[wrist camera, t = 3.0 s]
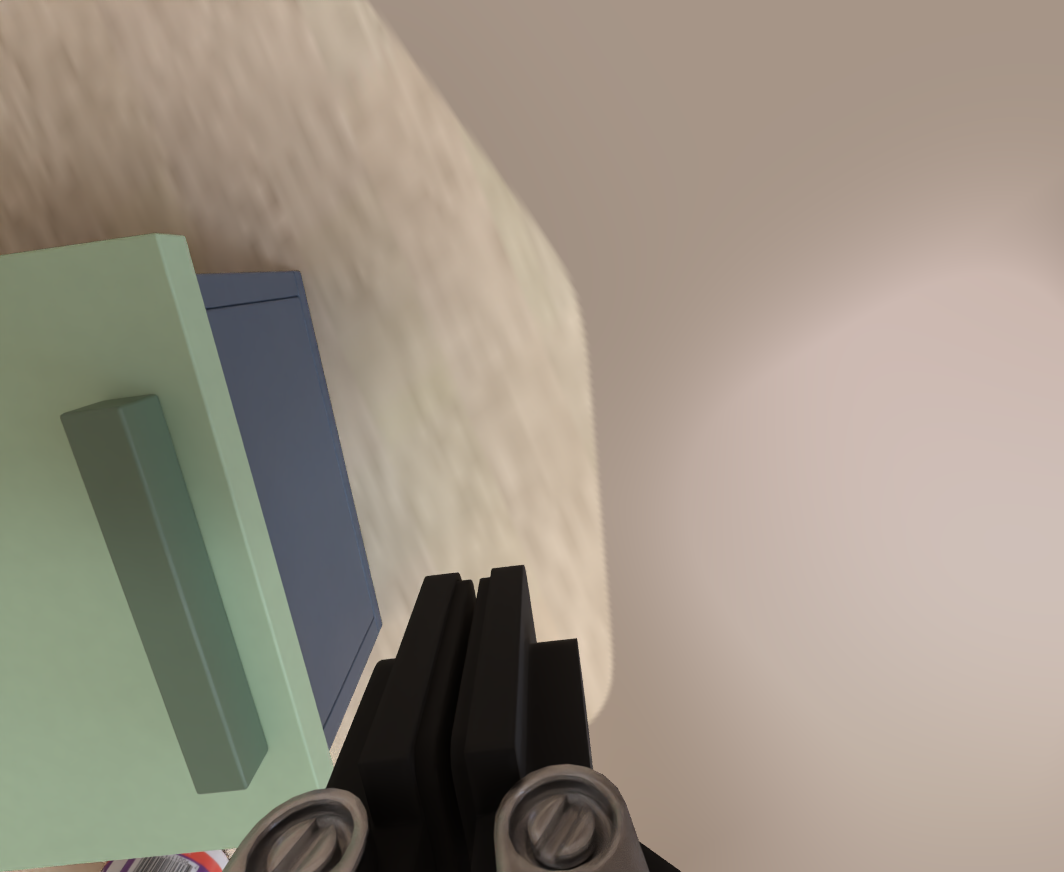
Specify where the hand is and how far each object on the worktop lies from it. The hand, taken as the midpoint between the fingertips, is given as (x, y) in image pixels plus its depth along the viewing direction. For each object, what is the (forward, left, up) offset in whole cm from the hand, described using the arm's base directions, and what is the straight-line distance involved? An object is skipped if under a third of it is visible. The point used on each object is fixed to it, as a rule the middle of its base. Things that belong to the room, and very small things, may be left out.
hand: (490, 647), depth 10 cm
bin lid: (0, -13, -4) cm, 14 cm away
